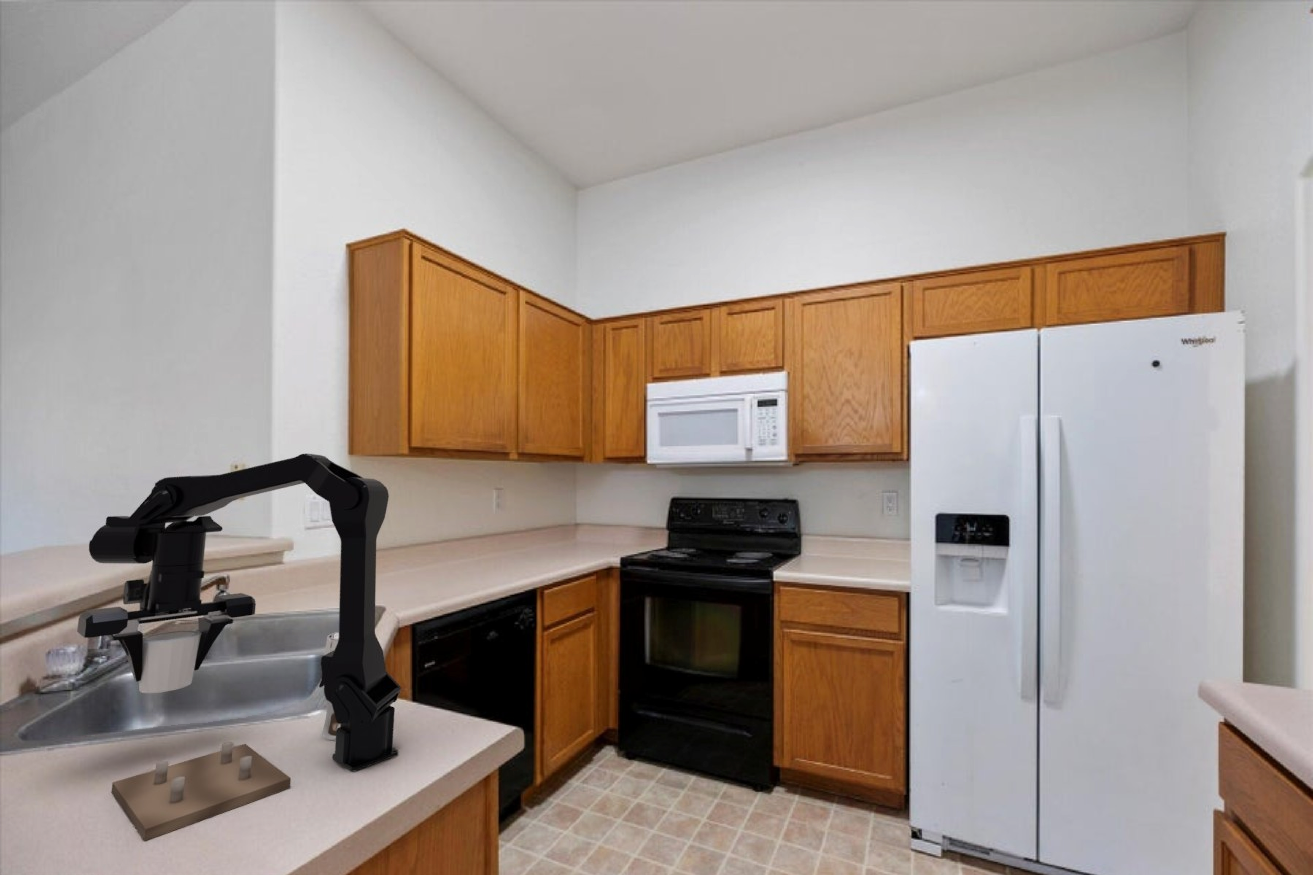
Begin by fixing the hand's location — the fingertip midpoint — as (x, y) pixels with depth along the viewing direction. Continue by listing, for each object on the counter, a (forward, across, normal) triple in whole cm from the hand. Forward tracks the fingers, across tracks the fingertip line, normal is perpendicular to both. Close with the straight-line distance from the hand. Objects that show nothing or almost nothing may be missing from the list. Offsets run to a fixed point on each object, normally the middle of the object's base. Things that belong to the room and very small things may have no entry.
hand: (167, 675), depth 80 cm
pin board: (+11, -1, +15) cm, 19 cm away
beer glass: (+12, -20, +11) cm, 26 cm away
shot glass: (+2, 0, 0) cm, 2 cm away
